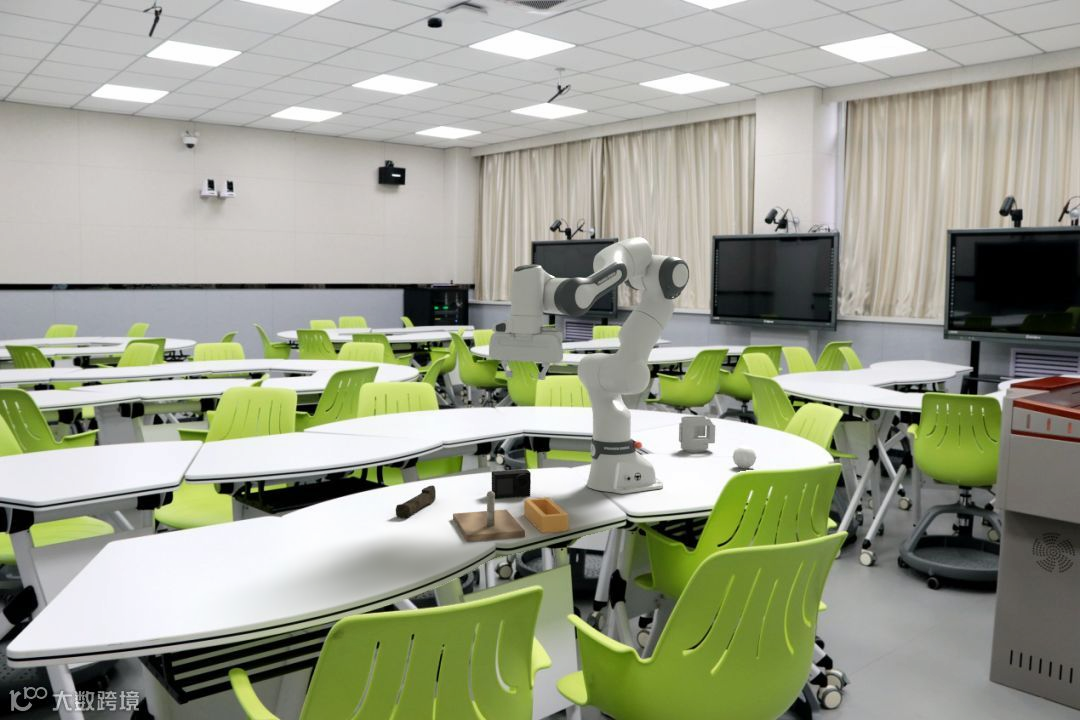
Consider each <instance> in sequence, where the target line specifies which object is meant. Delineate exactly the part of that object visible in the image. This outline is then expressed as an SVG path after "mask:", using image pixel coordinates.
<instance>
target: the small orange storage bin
mask: <svg viewBox="0 0 1080 720" xmlns="http://www.w3.org/2000/svg"><path fill="white" fill-rule="evenodd" d="M523 506H524V509H523V512H524V514H523V515H524V516H525V517H526V518H527V519H528V520H529V521H530V522H531V523H532V524H533V525H534V526H535V527H536V529H537V530H538V531H540V532H541V533H542V534H545V533H546V534H547V533H558V532H568V531H569V514H568V513H567V512H566V511H565V510H564V509H562V508H561V507H560V506H559V505H558V504H557V503H555V501H553V500H552V499H551V498H550V497H539V498H538V497H537V498H524V505H523Z"/></svg>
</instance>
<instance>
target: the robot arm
mask: <svg viewBox="0 0 1080 720" xmlns="http://www.w3.org/2000/svg"><path fill="white" fill-rule="evenodd" d="M653 252H654V251H653V248H652V246H651V244H650V242H648V240H646V239H644V238H643V237H639V236H638V237H630V238H627V239H623V240H618V242H615V243H612V244H611V245H609V246H606V247H604V248H603V249H601V250H600V251H599V252H598V253H596V255H595V256H594V259H593V262H592V263H593V266H592V267H593V268H592V269H593V272H594V273H592V274H590V275H589V276H587V277H571V278H569V277H555V276H554V275H551V274H549V273H548V272H546V270H545V269H544V268H543V267H542V265H540V264H533V263H532V264H524V265H520V266H517V267H516V268H514V269H513V270H512V274H511V278H510V289H509V299H510V300H509V301H510V304H511V305H510V306H511V308H510V311H509V319H506V320H502V321H500V322H498V323H497V322H496V323H494V324H492V326H491V330H492V332H493V333H492V334H491V336H490V338H489V344H488V345H489V346H488V356H489V357H490V359H491V360H495V361H501V366H502V368H503V370H504V373H505V374H504V376H505V378H509V379H510V378H512V377H513V376H514V370H511V369H510V366H509V364H510V362H511V361H513V362H529V363H541V367H542V370H541V372H538V373H537V380H538V381H539V380H540V381H541V380H542V381H545V380H546V374H547V372H548V370H549V368H550V367H551V364H560V363H561V362H562V361H563V359H564V351H563V341H564V334H563V332H562V330H560V329H559V328H558V327H549V326H548V327H547V326H544V313H546V314H555V315H564V316H569V317H581V316H583V315H585V314H586V313H587V312H589V310H590V309H591V308H592V306H593V305H594V304H595V303H596V302H597V301H598V300H599V299H600V298H602V297H603V296H605V295H607V294H608V293H609V292H611V291H613V290H614V289H616V288H617V287H619V286H620V285H621V284H623V283H624V284H625V285H626V287H627V288H630V289H632V290H634V291H642V293H643V294H642V297H641V300H640V301H639V302H638V304H637V305H636V306H635V308H634V309H632V312H631V313H630V314H629V316H628V317H627V319H626V320H625V322H624V323H623V324H622V326H621V327H620V329H619V330H618V335H617V337H618V341H619V343H620V345H619V347H618V350H617V351H616V352H615V353H614V354H612V353H604V352H596V353H589V354H586V355H585V356H583V357H582V358H581V359H580V360H579V362H578V365H577V377H578V379H579V381H580V382H581V383H582V385H583V386H584V388H585V390H586V393H587V395H588V398H589V402H590V405H591V411H592V437H591V442H590V457H591V463H590V471H589V474H588V478H587V481H586V486H587V487H588V488H589V489H592V490H595V491H601V492H609V493H615V494H621V495H625V494H631V493H639V492H644V491H645V492H646V491H652V490H659V489H663V488H664V484H663V482H662V481H661V480H660V479H659V478H656V472H655V471H656V470H655V468H654V465H653V464H652V463H651V462H650V461H649V460H648V459H646V457H644V456H643V455H642V454H640V453H639V452H638V451H637V449H638V450H640V449H642V447H643V443H642V442H641V441H638V440H634V439H633V438H631V435H632V434H631V431H632V430H631V427H632V426H631V425H632V422H631V421H632V415H631V411H630V409H629V408H628V407H627V405H625V403H624V400H623V398H622V396H623V395H625V396H629V395H638V394H641V393H643V392H644V391H645V390H647V388H648V386H649V384H650V380H651V371H650V367H649V366H648V362H649V359H650V354H651V352H652V350H653V349H654V347H655V346H656V345H657V342H658V341H659V339H660V337H661V336H662V334H663V333H664V332H665V329H666V328H667V327H668V325H669V323H670V321H671V318H672V316H673V314H674V311H675V307H676V306H675V301H674V300H675V299H677V298H678V297H679V296H680V295H681V294H682V292H683V291H684V290H685V288H686V286H687V284H688V283H689V279H690V268H689V266H688V264H687V262H686V261H685V260H684V259H681V258H680V257H677V256H667V255H661V254H654V253H653Z"/></svg>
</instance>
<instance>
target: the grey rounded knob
mask: <svg viewBox="0 0 1080 720" xmlns="http://www.w3.org/2000/svg"><path fill="white" fill-rule="evenodd" d="M732 454H733V455H732V460H733V463H734V465H736V466H737V467H739V468H741V469H749V468H752V466H754V464H755V463H756V459H757V456H756V452H755V450H754V449H753V448H752V447H751V446H747V445H740V446H738V447H736V448H735V450H734V451H733V453H732Z"/></svg>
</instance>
